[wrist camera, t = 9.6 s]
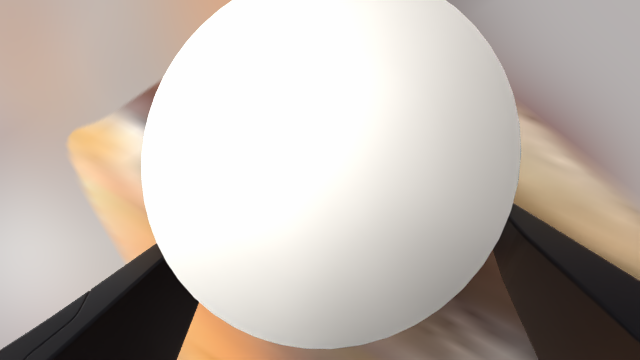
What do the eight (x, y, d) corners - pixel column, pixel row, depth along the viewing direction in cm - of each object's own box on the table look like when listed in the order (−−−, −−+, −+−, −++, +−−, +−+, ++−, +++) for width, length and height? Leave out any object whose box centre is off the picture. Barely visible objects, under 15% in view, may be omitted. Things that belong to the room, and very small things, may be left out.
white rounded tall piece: (411, 243, 15) (552, 369, 3) (305, 243, 16) (131, 334, 5) (403, 136, 16) (492, -75, 4) (302, 145, 17) (149, 6, 5)
